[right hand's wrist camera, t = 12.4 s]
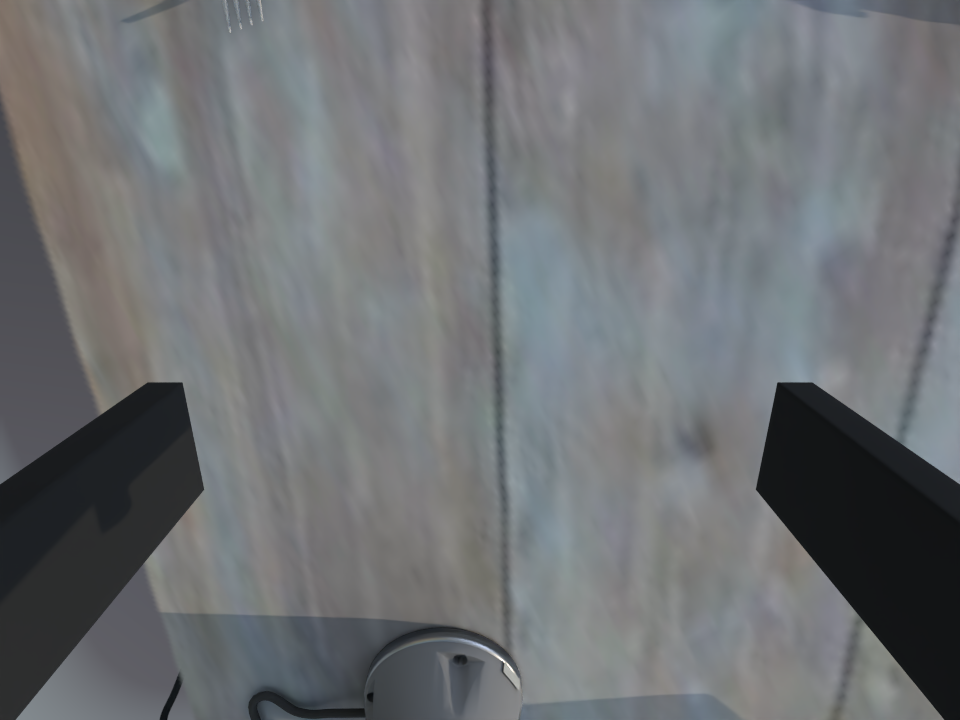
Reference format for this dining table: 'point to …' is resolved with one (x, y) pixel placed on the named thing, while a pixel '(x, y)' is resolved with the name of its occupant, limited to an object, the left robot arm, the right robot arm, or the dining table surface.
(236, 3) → the fork
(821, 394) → the right robot arm
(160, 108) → the dining table surface
